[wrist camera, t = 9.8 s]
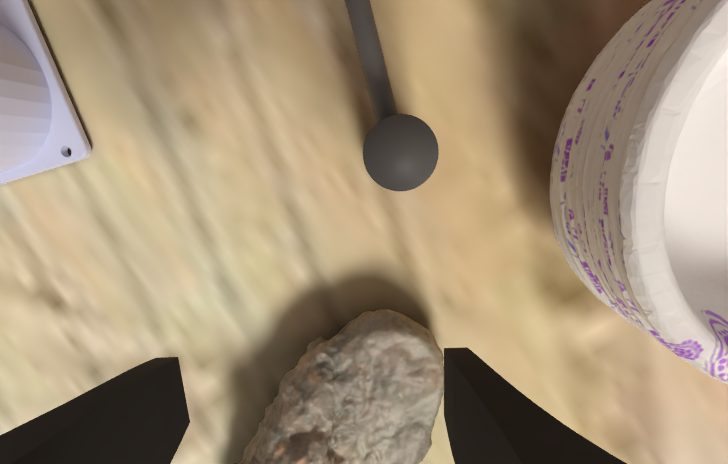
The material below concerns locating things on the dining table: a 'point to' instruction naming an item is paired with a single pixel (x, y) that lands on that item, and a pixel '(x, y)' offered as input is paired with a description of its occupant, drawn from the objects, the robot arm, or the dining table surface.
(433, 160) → the grey mallet
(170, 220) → the dining table surface
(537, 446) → the robot arm
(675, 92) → the paper bowls
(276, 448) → the long grey stone
